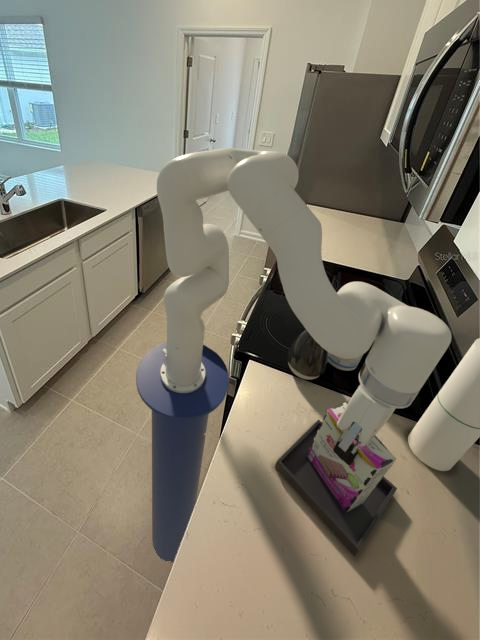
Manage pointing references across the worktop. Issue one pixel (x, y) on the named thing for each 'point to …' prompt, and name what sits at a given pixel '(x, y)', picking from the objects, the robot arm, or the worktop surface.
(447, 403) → the container
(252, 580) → the worktop surface
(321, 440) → the candy bar box
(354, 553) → the pan
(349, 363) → the supplement tub
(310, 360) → the dark glass dome
